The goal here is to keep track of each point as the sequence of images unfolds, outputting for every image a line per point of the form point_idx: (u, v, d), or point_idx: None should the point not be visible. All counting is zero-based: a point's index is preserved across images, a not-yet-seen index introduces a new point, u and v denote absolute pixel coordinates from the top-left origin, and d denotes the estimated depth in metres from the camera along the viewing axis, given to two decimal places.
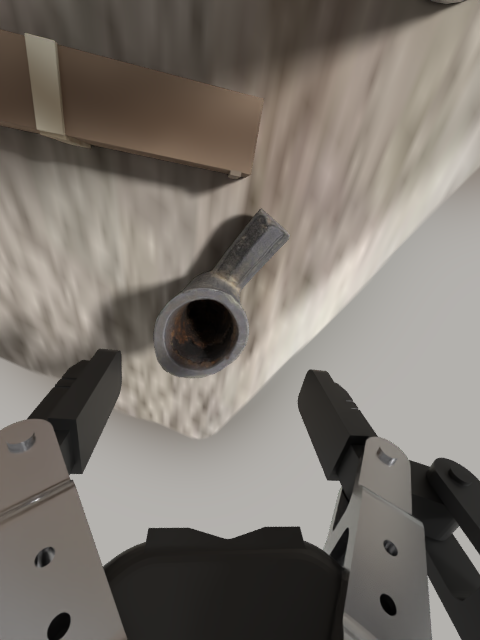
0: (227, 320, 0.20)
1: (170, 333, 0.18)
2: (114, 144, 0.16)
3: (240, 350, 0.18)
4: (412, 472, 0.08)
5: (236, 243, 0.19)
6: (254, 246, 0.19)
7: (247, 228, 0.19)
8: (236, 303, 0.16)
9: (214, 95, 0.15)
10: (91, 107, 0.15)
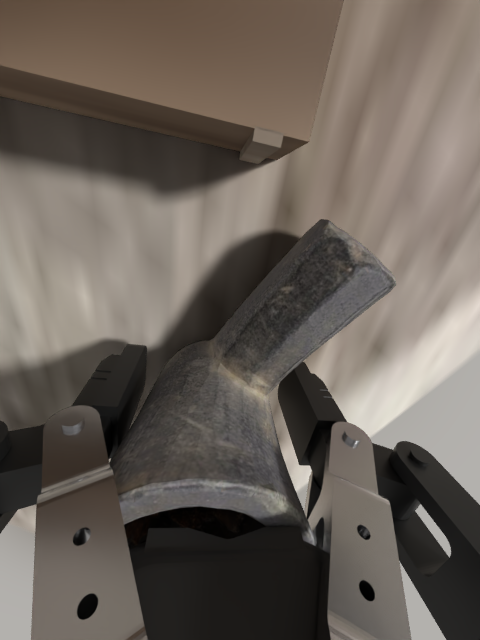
0: None
1: None
2: None
3: None
4: (376, 455, 0.08)
5: (268, 300, 0.08)
6: (315, 313, 0.08)
7: (295, 267, 0.08)
8: (287, 511, 0.05)
9: None
10: None
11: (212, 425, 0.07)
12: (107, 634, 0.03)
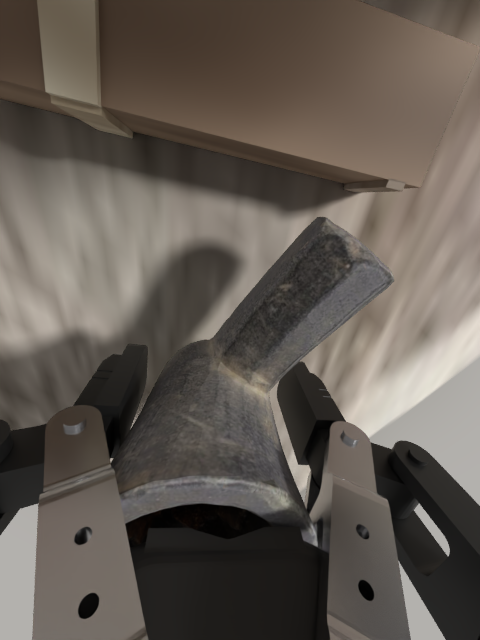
0: None
1: None
2: (192, 127, 0.08)
3: None
4: (375, 454, 0.08)
5: (267, 298, 0.08)
6: (314, 310, 0.08)
7: (294, 265, 0.08)
8: (289, 507, 0.05)
9: (394, 36, 0.08)
10: (155, 50, 0.07)
11: (213, 423, 0.07)
12: (107, 633, 0.03)
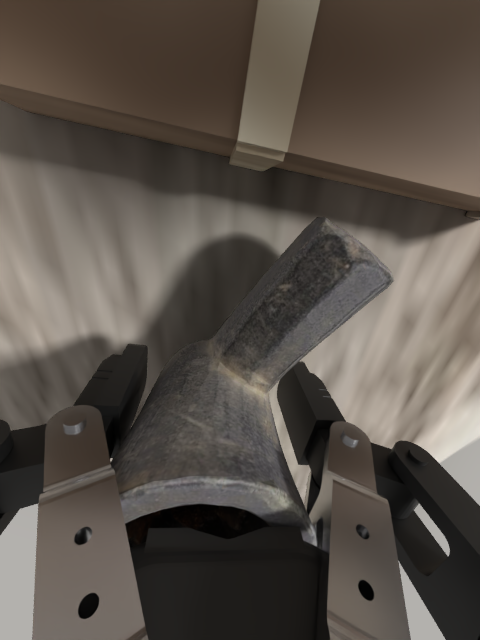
0: None
1: None
2: (371, 170, 0.08)
3: None
4: (375, 454, 0.08)
5: (266, 298, 0.08)
6: (313, 310, 0.08)
7: (293, 265, 0.08)
8: (288, 507, 0.05)
9: None
10: (354, 93, 0.07)
11: (212, 423, 0.07)
12: (107, 634, 0.03)
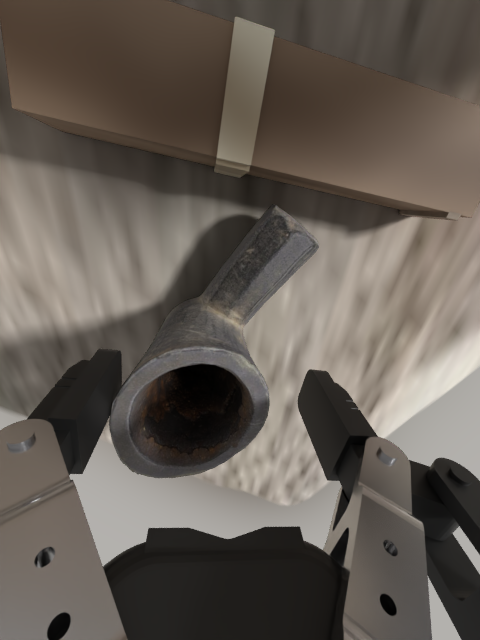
0: (229, 376, 0.13)
1: (140, 415, 0.11)
2: (311, 178, 0.11)
3: (256, 433, 0.11)
4: (412, 472, 0.08)
5: (238, 259, 0.13)
6: (268, 264, 0.12)
7: (255, 236, 0.12)
8: (250, 367, 0.10)
9: (461, 114, 0.11)
10: (295, 127, 0.10)
11: (205, 332, 0.11)
12: None
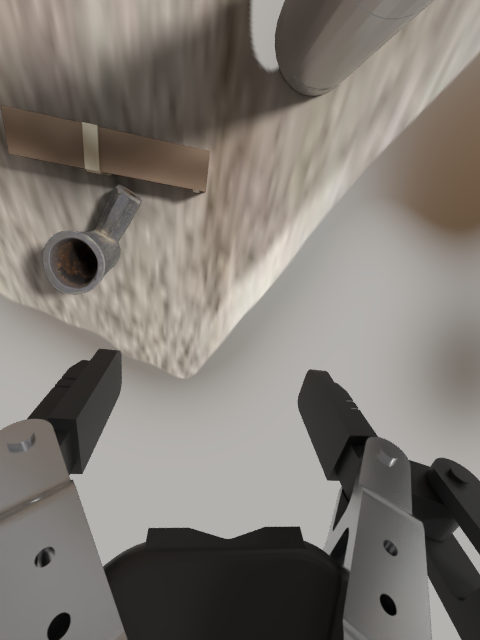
0: None
1: (56, 263, 0.28)
2: (126, 175, 0.28)
3: (101, 273, 0.28)
4: (412, 472, 0.08)
5: (104, 208, 0.30)
6: (112, 208, 0.29)
7: (109, 197, 0.29)
8: (91, 240, 0.27)
9: (181, 149, 0.28)
10: (114, 156, 0.27)
11: (82, 232, 0.28)
12: None
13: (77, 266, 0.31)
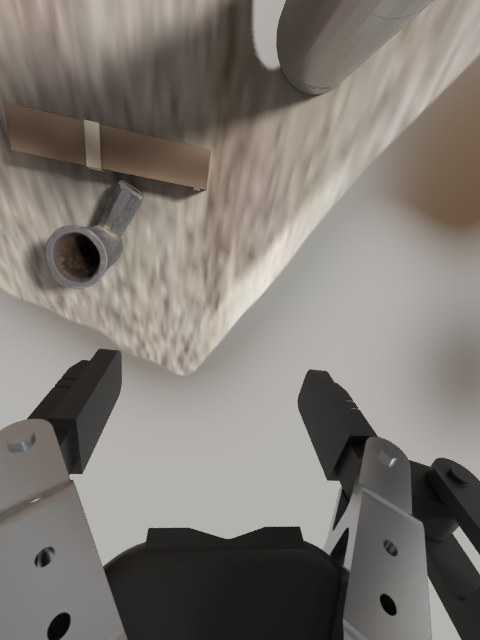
0: None
1: (59, 258, 0.28)
2: (128, 173, 0.28)
3: (104, 268, 0.28)
4: (412, 472, 0.08)
5: (107, 203, 0.30)
6: (115, 203, 0.29)
7: (112, 192, 0.29)
8: (94, 235, 0.27)
9: (182, 147, 0.28)
10: (116, 154, 0.28)
11: (84, 227, 0.28)
12: None
13: (80, 261, 0.31)
